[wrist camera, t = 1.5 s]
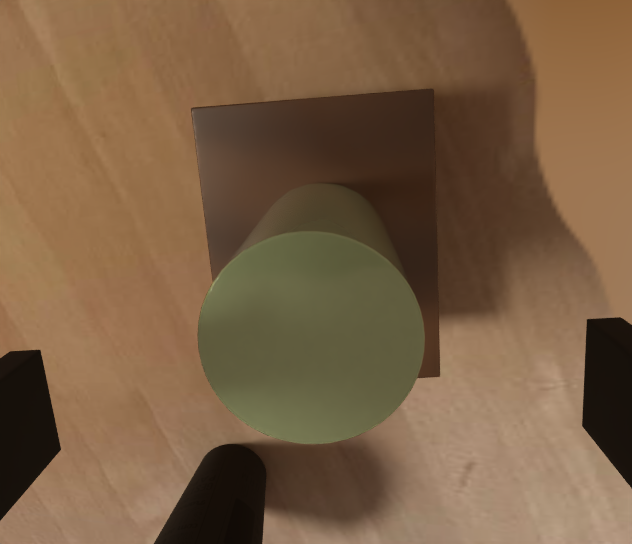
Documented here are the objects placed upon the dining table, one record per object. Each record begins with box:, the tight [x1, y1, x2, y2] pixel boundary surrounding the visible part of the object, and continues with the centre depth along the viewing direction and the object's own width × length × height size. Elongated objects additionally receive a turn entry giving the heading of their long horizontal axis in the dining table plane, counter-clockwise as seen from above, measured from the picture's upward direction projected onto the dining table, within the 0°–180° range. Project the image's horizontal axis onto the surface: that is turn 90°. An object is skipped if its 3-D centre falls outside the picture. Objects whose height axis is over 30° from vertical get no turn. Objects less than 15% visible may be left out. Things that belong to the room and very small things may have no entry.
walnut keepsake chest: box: [191, 89, 440, 378], centre depth 32 cm, size 14×11×9 cm
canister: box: [198, 183, 425, 444], centre depth 22 cm, size 6×6×12 cm
